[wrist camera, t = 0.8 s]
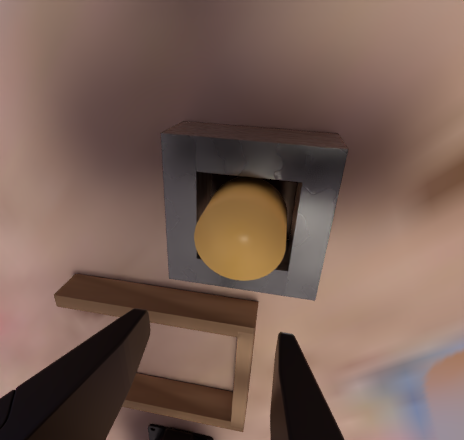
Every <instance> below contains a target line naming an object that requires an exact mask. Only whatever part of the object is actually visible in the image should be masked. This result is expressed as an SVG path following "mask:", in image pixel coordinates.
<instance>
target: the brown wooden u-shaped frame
mask: <svg viewBox="0 0 464 440" xmlns="http://www.w3.org/2000/svg"><path fill="white" fill-rule="evenodd" d="M54 298H55V301H56V305H57V306H58V307H64V308H69V309H75V310H81V311H87V312H93V313H99V314H104V315H110V316H116V317H121V316H123V315H124V314H126V313H127V312H129V311H130V310H132V309H134V308H139V309H145V310H147V311H148V313H149V321H150V322H151V323H157V324H163V325H169V326H174V327H180V328H186V329H192V330H198V331H204V332H209V333H215V334H221V335H227V336H233V337H237V350H236V363H235V376H234V389H233V392H231V391H226V390H220V389H215V388H210V387H205V386H200V385H195V384H190V383H185V382H179V381H174V380H169V379H164V378H159V377H154V376H149V375H144V374H138V373H136V375H135V378H134V380H133V383H132V385H131V388H130V390H129V392H128V394H127V397H126V399H125V401H124V403H123V405H122V407H126V408H131V409H136V410H141V411H145V412H150V413H155V414H160V415H164V416H169V417H174V418H178V419H183V420H188V421H193V422H197V423H202V424H207V425H212V426H216V427H221V428H226V429H231V430H235V431H240V432H243V429H244V422H245V414H246V407H247V399H248V390H249V381H250V372H251V363H252V354H253V345H254V336H255V327H256V318H257V309H258V302H256V301H249V300H243V299H237V298H230V297H224V296H217V295H211V294H204V293H198V292H191V291H185V290H178V289H172V288H166V287H159V286H153V285H146V284H140V283H133V282H127V281H120V280H114V279H107V278H101V277H95V276H88V275H82V274H75V275H74V276H73V277H72V278H71V279H70V280H69V281H68V282H67V283H66V284H65V285H64V286H62V287H61V288H60V289H59V290H58V291H57V292H56V293H55V294H54Z"/></svg>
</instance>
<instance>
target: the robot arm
mask: <svg viewBox="0 0 464 440" xmlns="http://www.w3.org/2000/svg"><path fill="white" fill-rule="evenodd" d="M149 336H150V321H149V313H148V311H147V310H145V309H139V308H134V309H132V310H130V311H129V312H127V313H126V314H124V315H123V316H121V317H120V318H118V319H117V320H116V321H114V322H113V323H111V324H110V325H108V326H107V327H105V328H104V329H102V330H101V331H99V332H98V333H96V334H95V335H93V336H92V337H90V338H89V339H87V340H86V341H84V342H83V343H82V344H80V345H79V346H77V347H76V348H74V349H73V350H71V351H70V352H68V353H67V354H65V355H64V356H62V357H61V358H59V359H58V360H56V361H55V362H53V363H52V364H51V365H49V366H48V367H46V368H45V369H43V370H42V371H40V372H39V373H37V374H36V375H34V376H33V377H31V378H30V379H28V380H27V381H25V382H24V383H22V384H21V385H20V386H18V387H17V388H16V390H12V391H10V392H9V393H8V394H6V395H5V396H3V397H2V398H0V440H106V438H107V435H108V433H109V431H110V429H111V427H112V425H113V423H114V421H115V419H116V417H117V415H118V413H119V411H120V409H121V407H122V405H123V403H124V401H125V399H126V397H127V394H128V392H129V390H130V388H131V385H132V383H133V380H134V378H135V375H136V372H137V369H138V367H139V364H140V361H141V358H142V356H143V353H144V350H145V348H146V345H147V342H148V339H149ZM153 428H154V429H153ZM270 431H271V440H344V438H343V435H342V433H341V431H340V429H339V427H338V425H337V423H336V421H335V419H334V417H333V415H332V413H331V411H330V408H329V406H328V404H327V402H326V400H325V398H324V396H323V394H322V392H321V390H320V388H319V386H318V384H317V382H316V379H315V377H314V375H313V373H312V371H311V369H310V367H309V365H308V363H307V361H306V359H305V357H304V355H303V352H302V350H301V348H300V346H299V344H298V342H297V340H296V338H295V336H294V335H293V334H289V333H283V332H280V333H279V335H278V340H277V346H276V353H275V362H274V374H273V386H272V398H271V413H270ZM148 432H149V440H213V438H212V437H210V436H206V435H201V434H197V433H192V432H188V431H183V430H178V429H174V428H169V427H164V426H160V425H155V424H150V425H149V427H148Z"/></svg>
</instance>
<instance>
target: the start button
mask: <svg viewBox="0 0 464 440" xmlns="http://www.w3.org/2000/svg"><path fill="white" fill-rule="evenodd" d="M286 230H287V208H286V204H285V201H284V199H283V197H282V195H281V194H280V192H279V191H278V190H277V189H276V188H275V187H274V186H273V185H271V184H270V183H268V182H266V181H264V180H262V179H259V178H255V177H238V178H234V179H231V180H229V181H227V182H225V183H224V184H222V185H221V186H220V187H219V188H218V189H217V191H216V192H215V194H214V195H213V197H212V199H211V200H210V202H209V204H208V205H207V207H206V209H205V210H204V212H203V214H202V215H201V217H200V219H199V220H198V222H197V225H196V227H195V232H194V241H195V246H196V249H197V252H198V254H199V256H200V258H201V259H202V260H203V262H204V263H205V264H206V265H207V266H208V267H209V268H210V269H211V270H213V271H214V272H216V273H218V274H219V275H221V276H224V277H226V278H229V279H233V280H241V281H248V280H255V279H259V278H261V277H264V276H266V275H268V274H269V273H271V272H272V271H273V270H275V269H276V268H277V267H278V265H279V264H280V263H281V261H282V259H283V257H284V254H285V250H286Z"/></svg>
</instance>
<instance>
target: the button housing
mask: <svg viewBox="0 0 464 440" xmlns="http://www.w3.org/2000/svg"><path fill="white" fill-rule="evenodd" d="M161 145H162V163H163V180H164V198H165V216H166V234H167V251H168V269H169V279H175V280H182V281H188V282H195V283H202V284H208V285H215V286H221V287H228V288H235V289H241V290H248V291H255V292H261V293H268V294H274V295H281V296H288V297H294V298H301V299H308V300H314V301H315V299H316V294H317V289H318V285H319V280H320V276H321V271H322V267H323V262H324V258H325V253H326V249H327V244H328V239H329V235H330V230H331V226H332V221H333V217H334V212H335V208H336V203H337V198H338V194H339V189H340V185H341V180H342V176H343V171H344V167H345V162H346V157H347V153H348V148H347V147H346V145H345V144H344V142H343V140H342V139H341V137H340V136H339V134H336V133H323V132H311V131H299V130H286V129H274V128H262V127H249V126H237V125H225V124H212V123H200V122H188V121H183V122H181V123H179V124H177V125H175V126H173V127H171V128H169V129H168V130H166V131H164V132H162V133H161ZM212 173H216V174H226V175H236V176H245V177H255V178H265V179H275V180H284V181H294V182H298V184H297V190H296V197H295V203H294V210H293V217H292V223H291V230H290V236H289V240H286V250H285V254H284V257H283V259H282V261H281V263H280V264H279V265H278V267H277V268H276V269H275V270H273V271H272V272H271V273H269V274H268V275H266V276H264V277H261V278H259V279H255V280H248V281H241V280H233V279H229V278H226V277H224V276H221V275H219V274H218V273H216V272H214V271H213V270H211V269H210V268H209V267H208V266H207V265H206V264H205V263H204V262H203V260H202V259H201V258H200V256H199V254H198V252H197V249H196V246H195V241H194V232H195V227H196V225H197V222H198V220H199V219H200V217H201V215H202V214H203V212H204V210H205V209H206V207H207V205H208V204H209V202H210V200H211V186H212Z"/></svg>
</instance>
